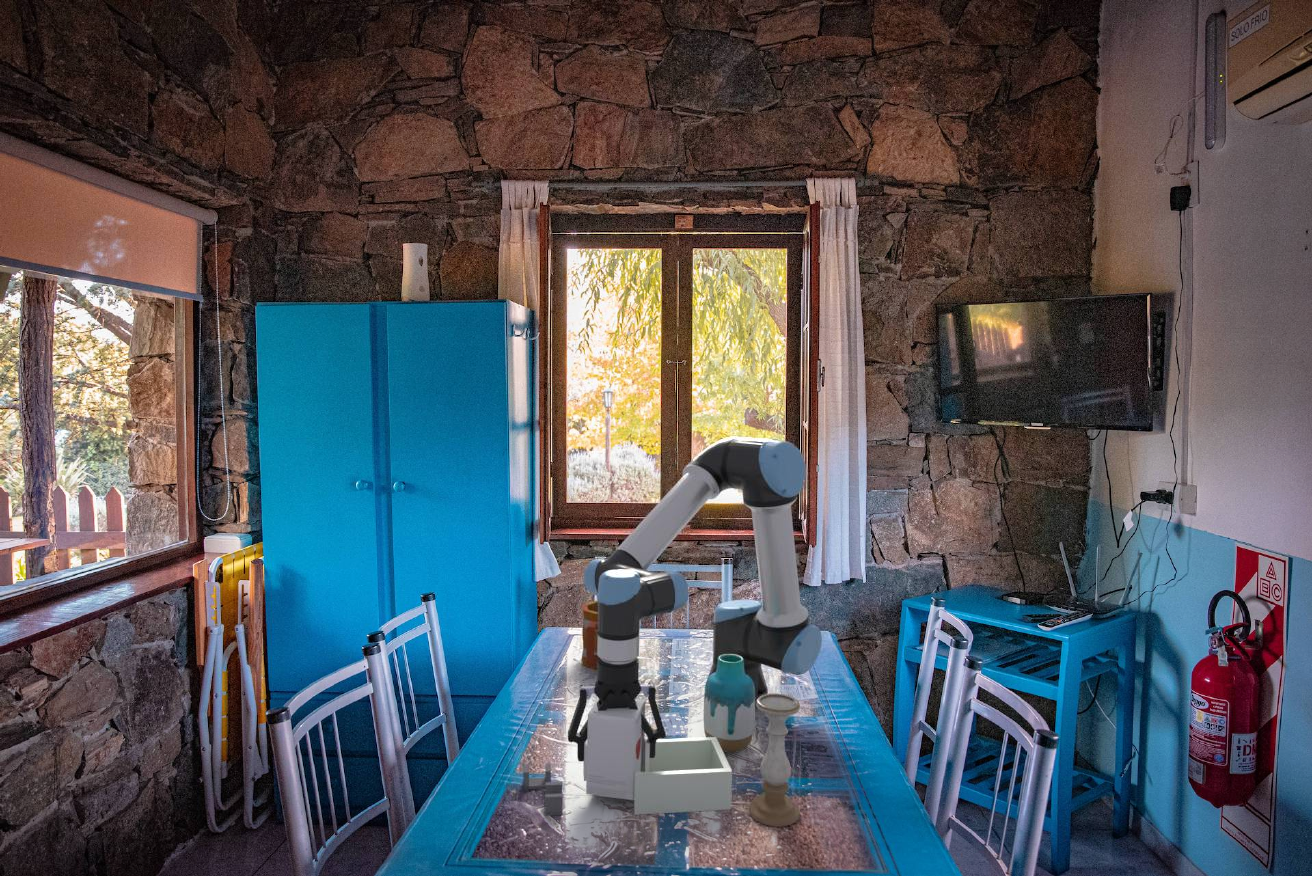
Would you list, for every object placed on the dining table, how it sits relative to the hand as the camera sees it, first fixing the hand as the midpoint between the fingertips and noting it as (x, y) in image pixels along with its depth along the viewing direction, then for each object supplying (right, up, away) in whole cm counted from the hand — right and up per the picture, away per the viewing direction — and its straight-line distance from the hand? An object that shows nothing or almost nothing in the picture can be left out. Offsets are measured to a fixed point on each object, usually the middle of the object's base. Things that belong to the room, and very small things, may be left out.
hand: (616, 775), depth 141 cm
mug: (-7, +1, +65) cm, 65 cm away
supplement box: (0, -2, 0) cm, 2 cm away
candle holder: (+28, -5, -5) cm, 29 cm away
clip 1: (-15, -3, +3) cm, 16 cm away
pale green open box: (+11, -4, +2) cm, 12 cm away
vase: (+22, -3, +19) cm, 30 cm away
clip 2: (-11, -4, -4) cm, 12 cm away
